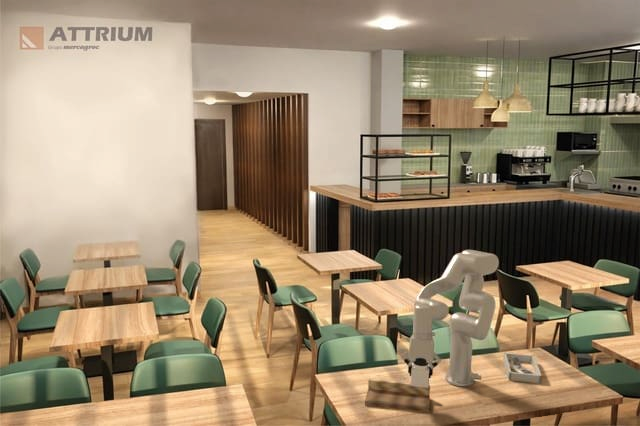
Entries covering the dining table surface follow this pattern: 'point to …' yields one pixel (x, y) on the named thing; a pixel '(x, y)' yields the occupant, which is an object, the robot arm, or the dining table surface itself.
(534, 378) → the grey tray
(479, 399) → the dining table surface
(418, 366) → the medicine bottle
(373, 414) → the dining table surface
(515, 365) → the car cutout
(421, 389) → the board
